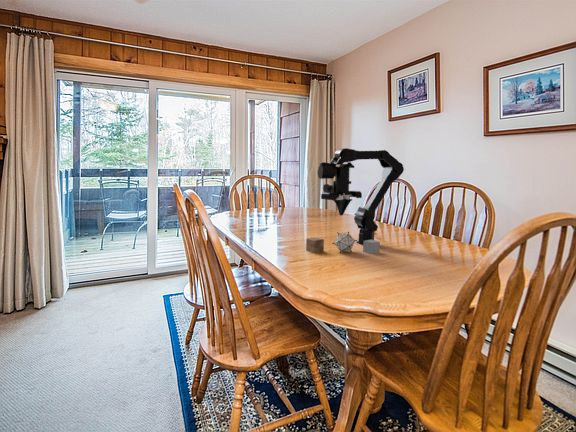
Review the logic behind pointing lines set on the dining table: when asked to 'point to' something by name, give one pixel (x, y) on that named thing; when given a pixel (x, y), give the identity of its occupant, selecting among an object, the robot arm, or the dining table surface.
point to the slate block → (371, 246)
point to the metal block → (314, 244)
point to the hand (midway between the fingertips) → (341, 215)
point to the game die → (344, 242)
